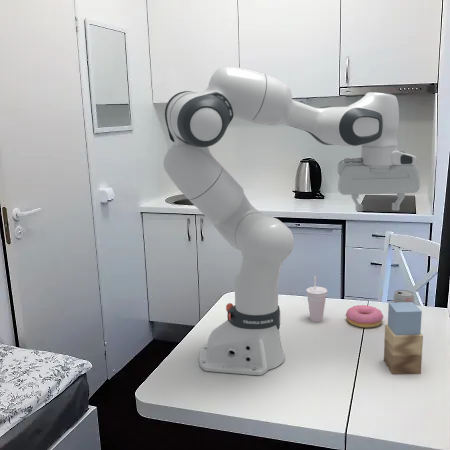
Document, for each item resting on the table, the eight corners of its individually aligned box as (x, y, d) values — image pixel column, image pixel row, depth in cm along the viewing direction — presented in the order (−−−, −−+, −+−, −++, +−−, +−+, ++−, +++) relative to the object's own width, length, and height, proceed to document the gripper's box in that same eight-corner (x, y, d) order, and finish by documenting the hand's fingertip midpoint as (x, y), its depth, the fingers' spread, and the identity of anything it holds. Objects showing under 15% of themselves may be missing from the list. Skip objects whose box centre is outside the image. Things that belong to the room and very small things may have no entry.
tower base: (391, 374, 126) (392, 355, 125) (383, 360, 133) (384, 342, 131) (420, 374, 126) (421, 355, 124) (411, 360, 132) (412, 342, 131)
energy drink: (396, 326, 152) (398, 288, 149) (414, 331, 149) (417, 292, 146) (389, 333, 148) (391, 293, 145) (407, 338, 145) (410, 297, 142)
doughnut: (346, 313, 163) (346, 301, 162) (382, 316, 160) (383, 304, 159) (344, 328, 153) (344, 314, 152) (383, 331, 150) (383, 317, 149)
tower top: (392, 355, 125) (393, 336, 124) (384, 342, 132) (385, 324, 130) (421, 355, 125) (423, 335, 123) (411, 342, 131) (412, 323, 130)
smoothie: (309, 314, 163) (309, 272, 160) (329, 317, 160) (330, 274, 157) (303, 322, 157) (303, 278, 154) (323, 325, 155) (324, 280, 151)
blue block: (395, 335, 124) (396, 312, 123) (387, 325, 130) (388, 302, 129) (420, 334, 124) (421, 311, 123) (411, 324, 130) (412, 302, 129)
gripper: (340, 159, 129) (339, 214, 132) (423, 157, 128) (420, 212, 131) (335, 157, 135) (334, 209, 138) (414, 155, 134) (412, 207, 137)
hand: (377, 210), depth 134 cm, fingers open, 8 cm apart
